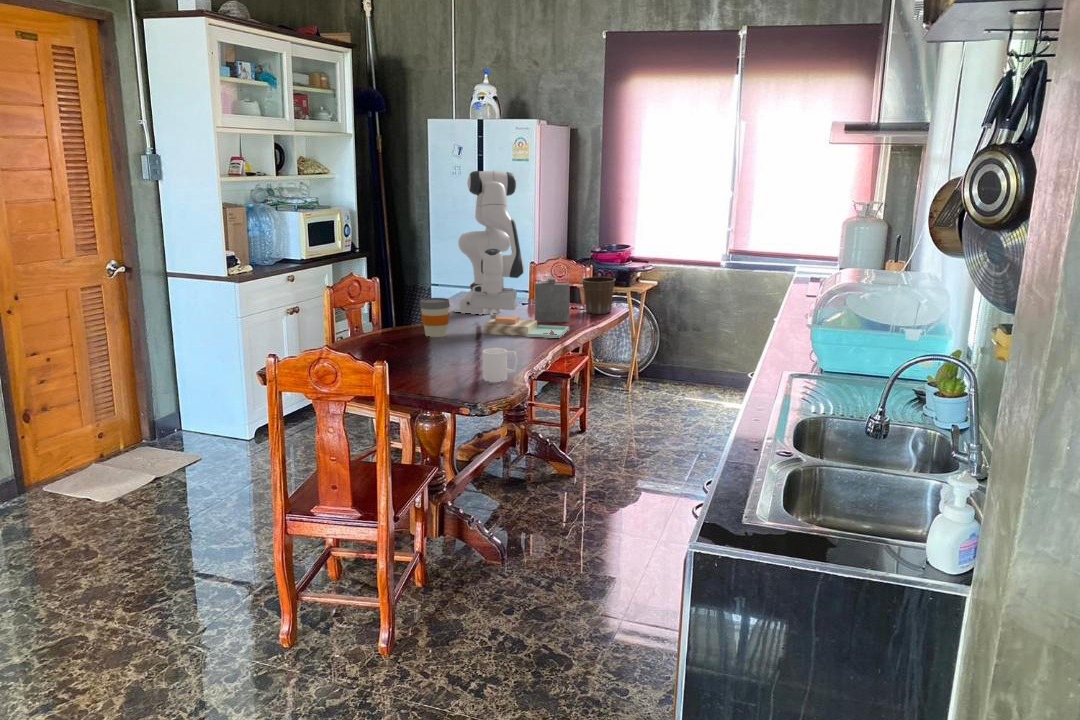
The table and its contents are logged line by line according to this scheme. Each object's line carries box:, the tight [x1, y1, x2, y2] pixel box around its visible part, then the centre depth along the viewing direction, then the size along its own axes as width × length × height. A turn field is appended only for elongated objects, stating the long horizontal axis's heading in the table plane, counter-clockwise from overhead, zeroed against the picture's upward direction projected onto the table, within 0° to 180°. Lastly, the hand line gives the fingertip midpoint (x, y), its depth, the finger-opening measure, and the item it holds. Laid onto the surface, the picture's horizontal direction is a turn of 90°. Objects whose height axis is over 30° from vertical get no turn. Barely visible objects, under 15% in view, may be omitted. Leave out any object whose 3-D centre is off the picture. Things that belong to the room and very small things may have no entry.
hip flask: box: [534, 277, 571, 323], centre depth 372 cm, size 16×4×20 cm, turn 81°
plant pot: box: [581, 276, 616, 315], centre depth 393 cm, size 16×16×16 cm
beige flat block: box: [482, 319, 538, 337], centre depth 354 cm, size 20×14×4 cm
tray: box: [526, 324, 570, 339], centre depth 350 cm, size 14×18×2 cm
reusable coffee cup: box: [419, 297, 451, 338], centre depth 347 cm, size 13×13×15 cm
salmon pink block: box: [495, 315, 520, 324], centre depth 353 cm, size 9×6×2 cm, turn 74°
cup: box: [482, 347, 519, 383], centre depth 280 cm, size 8×12×10 cm
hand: (494, 319), depth 355 cm, fingers closed
